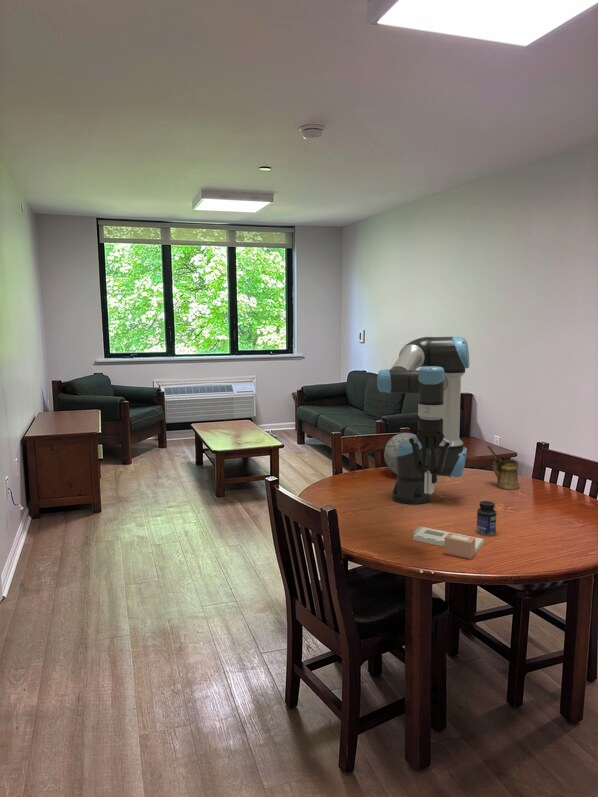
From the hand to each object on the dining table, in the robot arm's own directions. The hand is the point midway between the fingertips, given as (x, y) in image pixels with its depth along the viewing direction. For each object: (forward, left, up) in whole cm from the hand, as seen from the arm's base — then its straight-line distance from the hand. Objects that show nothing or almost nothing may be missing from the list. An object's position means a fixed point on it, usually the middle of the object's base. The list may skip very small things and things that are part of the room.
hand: (429, 492), depth 175 cm
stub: (+10, 0, -18) cm, 20 cm away
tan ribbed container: (+3, +80, -19) cm, 82 cm away
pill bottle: (+12, +22, -19) cm, 31 cm away
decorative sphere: (-39, +75, -19) cm, 86 cm away
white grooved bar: (+4, +7, -18) cm, 19 cm away
